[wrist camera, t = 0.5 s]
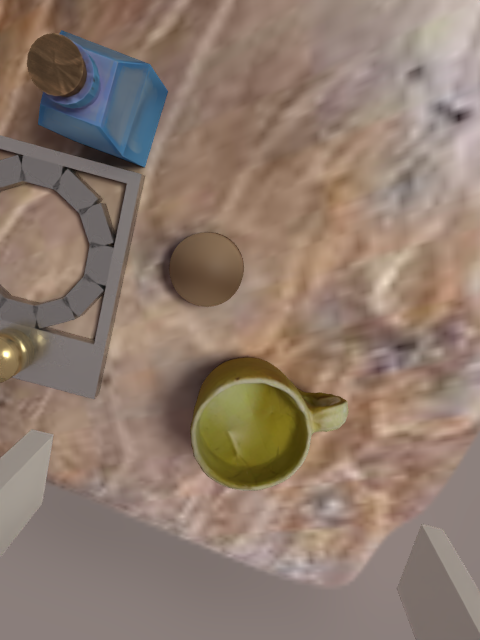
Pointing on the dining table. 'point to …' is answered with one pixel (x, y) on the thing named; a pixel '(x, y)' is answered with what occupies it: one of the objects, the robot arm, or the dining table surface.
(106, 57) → the perfume bottle
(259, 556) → the dining table surface
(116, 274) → the plate
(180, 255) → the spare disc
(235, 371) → the mug
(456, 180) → the dining table surface
